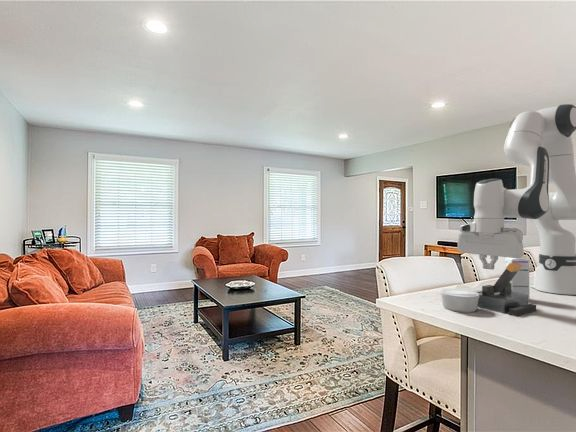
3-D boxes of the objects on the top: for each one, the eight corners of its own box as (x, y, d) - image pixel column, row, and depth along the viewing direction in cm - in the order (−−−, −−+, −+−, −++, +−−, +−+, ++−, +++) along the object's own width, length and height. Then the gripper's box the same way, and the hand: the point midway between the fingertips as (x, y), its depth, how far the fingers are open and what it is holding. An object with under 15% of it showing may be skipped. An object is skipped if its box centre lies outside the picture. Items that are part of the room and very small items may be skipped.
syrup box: (530, 301, 121) (530, 259, 121) (511, 300, 122) (511, 258, 122) (522, 297, 127) (522, 257, 127) (504, 296, 128) (504, 256, 128)
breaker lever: (497, 289, 116) (517, 262, 111) (501, 293, 115) (522, 266, 110) (489, 290, 114) (509, 263, 109) (494, 294, 113) (514, 267, 107)
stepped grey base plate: (490, 299, 123) (490, 279, 123) (528, 307, 113) (528, 285, 113) (466, 304, 116) (466, 283, 116) (504, 313, 105) (504, 290, 105)
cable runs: (469, 296, 128) (469, 291, 128) (537, 310, 109) (537, 304, 109) (446, 300, 121) (446, 295, 121) (515, 316, 102) (515, 310, 102)
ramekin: (462, 315, 103) (462, 297, 103) (432, 306, 113) (432, 290, 113) (487, 311, 108) (487, 294, 108) (456, 303, 118) (456, 287, 118)
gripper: (527, 228, 109) (527, 272, 109) (465, 226, 127) (465, 264, 127) (517, 228, 106) (517, 274, 106) (454, 226, 124) (454, 265, 124)
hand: (488, 268), depth 117 cm, fingers closed
